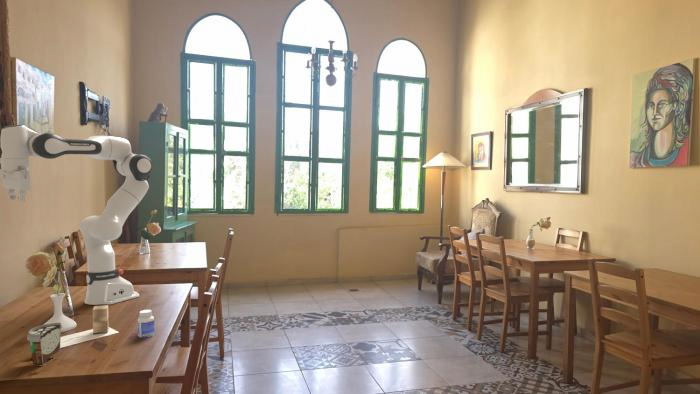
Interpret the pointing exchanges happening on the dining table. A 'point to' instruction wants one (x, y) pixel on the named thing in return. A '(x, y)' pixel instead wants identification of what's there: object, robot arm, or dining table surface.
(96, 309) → the sanding block
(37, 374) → the dining table surface
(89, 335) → the board
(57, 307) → the flower in vase
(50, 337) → the food container
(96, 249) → the robot arm
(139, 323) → the pill bottle
